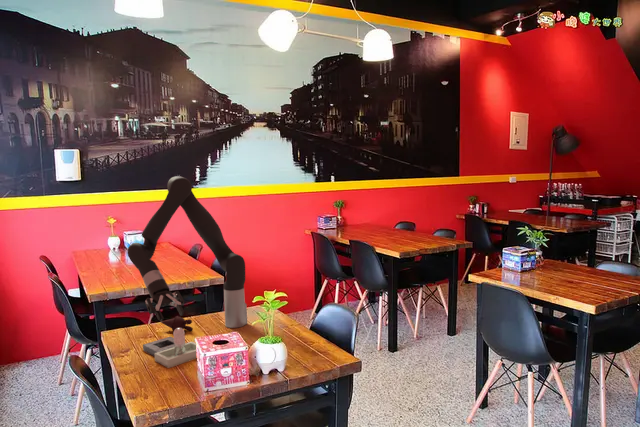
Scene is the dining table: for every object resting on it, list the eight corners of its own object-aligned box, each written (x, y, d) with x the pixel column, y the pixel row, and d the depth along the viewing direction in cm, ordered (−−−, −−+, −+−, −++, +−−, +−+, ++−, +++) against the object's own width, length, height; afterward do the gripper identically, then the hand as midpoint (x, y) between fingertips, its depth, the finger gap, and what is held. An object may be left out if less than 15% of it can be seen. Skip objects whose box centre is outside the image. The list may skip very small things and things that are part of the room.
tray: (192, 348, 191) (191, 341, 191) (206, 354, 184) (205, 347, 184) (154, 361, 179) (154, 353, 179) (168, 368, 172) (167, 360, 172)
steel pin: (182, 353, 184) (180, 325, 184) (187, 355, 182) (186, 327, 181) (173, 356, 182) (171, 328, 181) (178, 358, 179) (176, 330, 178)
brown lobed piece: (156, 319, 209) (188, 323, 207) (164, 310, 216) (195, 314, 214) (157, 333, 212) (189, 337, 209) (165, 323, 218) (196, 327, 216)
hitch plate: (170, 342, 199) (170, 336, 198) (185, 349, 190) (185, 343, 190) (143, 350, 190) (142, 344, 190) (157, 358, 182) (157, 352, 182)
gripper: (141, 282, 183) (158, 316, 177) (174, 275, 194) (191, 307, 187) (136, 293, 187) (152, 327, 181) (169, 285, 198) (185, 318, 191)
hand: (172, 317), depth 184 cm, fingers open, 8 cm apart
